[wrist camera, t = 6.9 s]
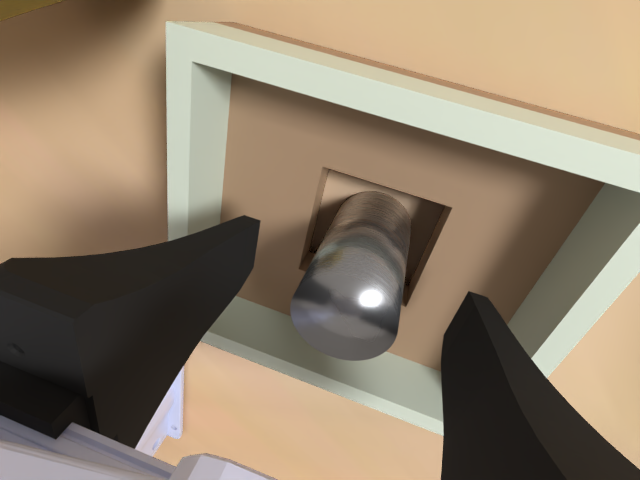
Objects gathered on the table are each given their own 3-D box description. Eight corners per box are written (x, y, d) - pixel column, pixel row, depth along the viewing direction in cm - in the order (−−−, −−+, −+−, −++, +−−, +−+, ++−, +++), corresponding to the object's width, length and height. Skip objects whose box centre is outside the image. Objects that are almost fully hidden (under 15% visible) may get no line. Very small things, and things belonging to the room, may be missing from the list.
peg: (399, 267, 16) (382, 373, 11) (329, 247, 17) (284, 340, 12) (421, 203, 15) (412, 295, 10) (343, 182, 15) (297, 261, 10)
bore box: (474, 373, 18) (482, 451, 15) (214, 277, 20) (168, 329, 16) (640, 134, 12) (721, 177, 8) (234, 22, 13) (165, 21, 10)
